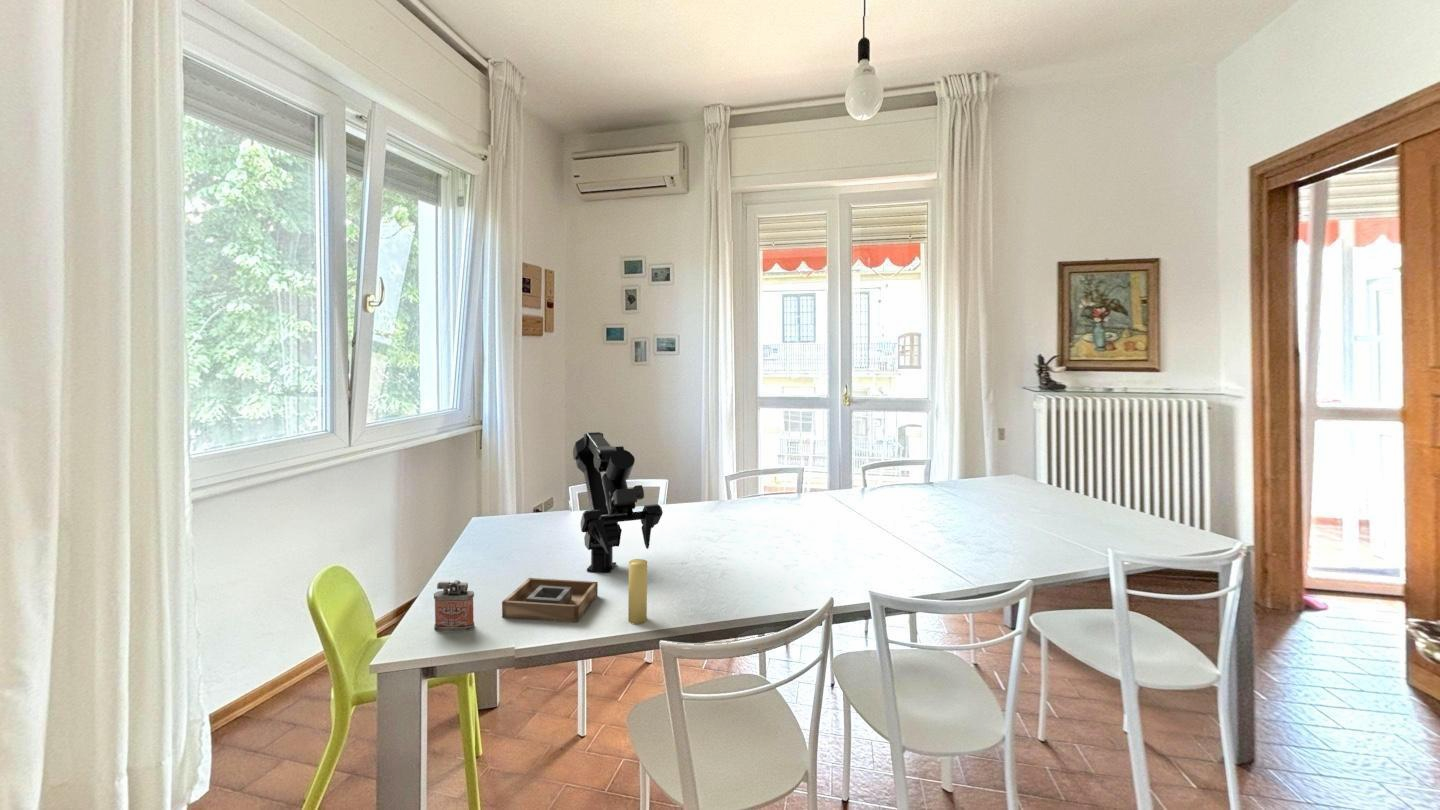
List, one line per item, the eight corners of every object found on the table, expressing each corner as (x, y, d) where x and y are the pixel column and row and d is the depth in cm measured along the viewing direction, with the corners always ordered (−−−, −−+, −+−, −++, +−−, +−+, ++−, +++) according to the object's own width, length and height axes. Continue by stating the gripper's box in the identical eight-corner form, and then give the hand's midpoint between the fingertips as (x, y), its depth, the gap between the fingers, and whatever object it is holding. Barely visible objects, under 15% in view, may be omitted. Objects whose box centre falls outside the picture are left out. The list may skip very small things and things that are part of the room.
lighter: (477, 624, 124) (476, 578, 123) (470, 631, 120) (470, 584, 119) (438, 624, 123) (437, 578, 123) (431, 631, 120) (430, 584, 119)
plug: (630, 615, 129) (631, 558, 128) (648, 616, 129) (649, 559, 128) (626, 623, 125) (626, 564, 124) (644, 624, 125) (644, 565, 124)
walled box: (529, 591, 141) (529, 576, 141) (597, 596, 139) (597, 580, 139) (502, 617, 127) (502, 600, 127) (577, 622, 125) (577, 605, 125)
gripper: (582, 476, 133) (593, 537, 123) (660, 471, 140) (675, 528, 131) (576, 502, 140) (585, 561, 131) (650, 496, 148) (663, 551, 139)
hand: (628, 550), depth 133 cm, fingers open, 9 cm apart
